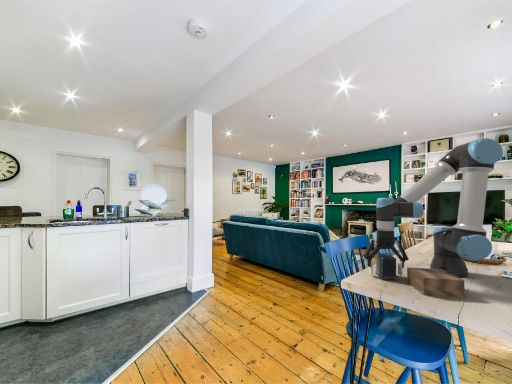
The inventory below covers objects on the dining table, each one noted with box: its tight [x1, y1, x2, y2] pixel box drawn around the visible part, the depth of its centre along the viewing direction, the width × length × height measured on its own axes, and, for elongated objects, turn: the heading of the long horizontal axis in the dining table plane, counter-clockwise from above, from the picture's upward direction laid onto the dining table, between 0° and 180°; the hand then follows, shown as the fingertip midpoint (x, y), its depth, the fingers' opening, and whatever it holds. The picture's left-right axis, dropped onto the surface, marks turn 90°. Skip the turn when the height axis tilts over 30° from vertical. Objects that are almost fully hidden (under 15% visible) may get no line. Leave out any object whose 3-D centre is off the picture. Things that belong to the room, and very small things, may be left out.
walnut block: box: [406, 267, 466, 299], centre depth 97 cm, size 14×14×7 cm
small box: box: [375, 252, 397, 282], centre depth 112 cm, size 11×6×10 cm, turn 168°
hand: (385, 274), depth 112 cm, fingers open, 12 cm apart
